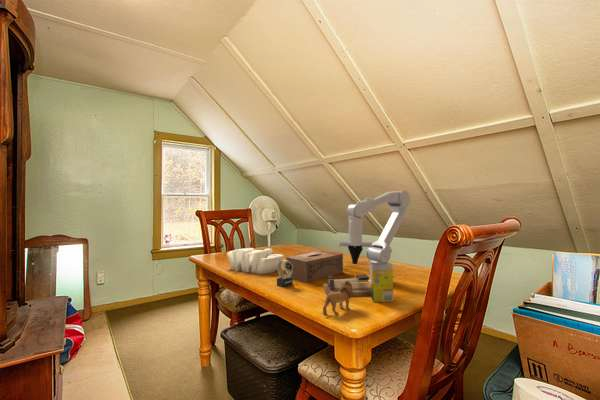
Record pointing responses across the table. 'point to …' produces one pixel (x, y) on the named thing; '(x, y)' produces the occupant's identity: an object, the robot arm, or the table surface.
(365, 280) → the lever
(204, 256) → the table surface
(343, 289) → the lion figurine
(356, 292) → the base
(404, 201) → the robot arm
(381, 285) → the crayon box
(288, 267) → the watch
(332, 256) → the tissue box cover
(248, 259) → the wavy white extrusion
